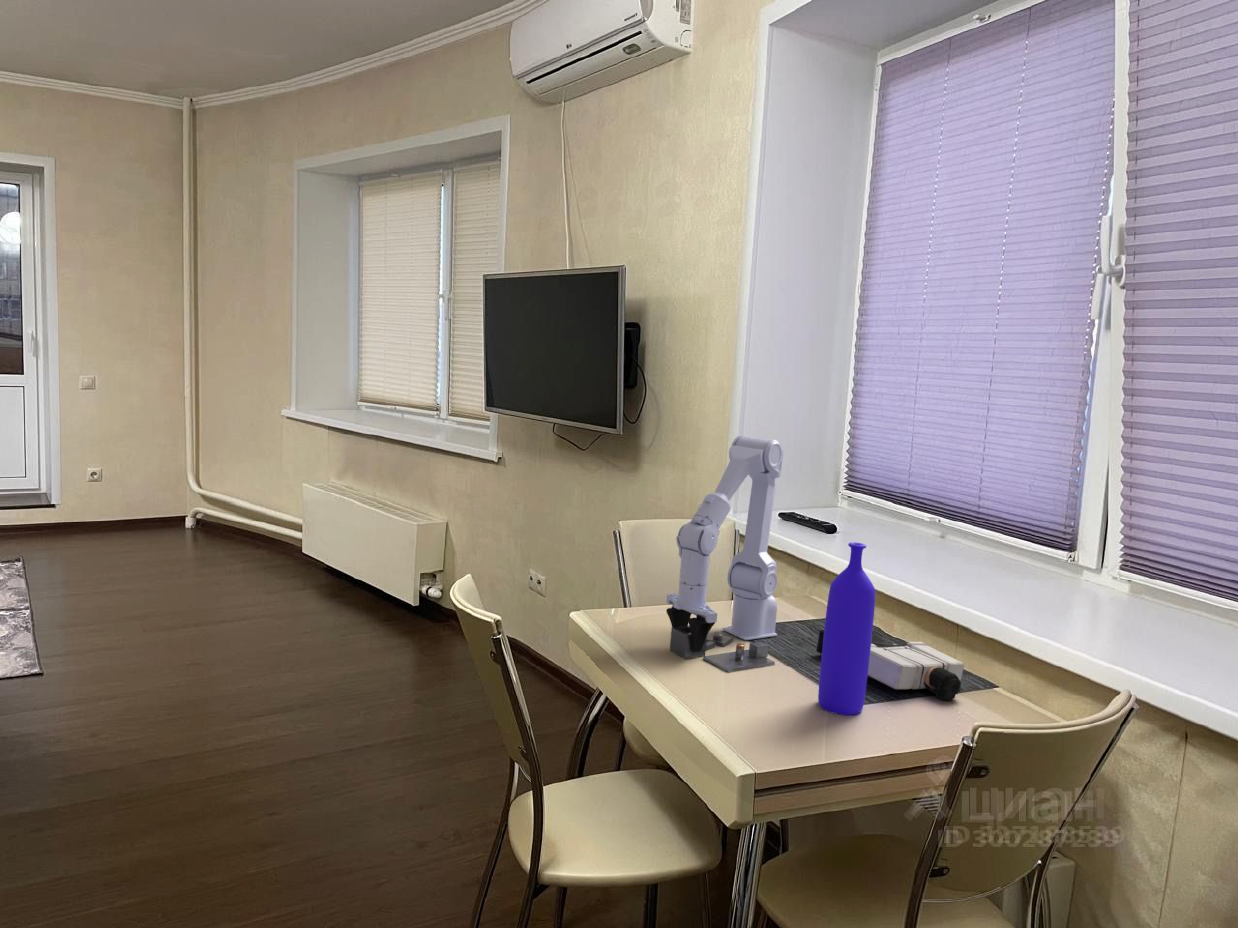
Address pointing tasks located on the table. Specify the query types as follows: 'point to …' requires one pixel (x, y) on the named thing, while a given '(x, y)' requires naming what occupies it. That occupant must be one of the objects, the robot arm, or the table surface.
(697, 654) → the gray hollow cube
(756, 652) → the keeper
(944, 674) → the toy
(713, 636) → the gray t-shaped latch
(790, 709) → the table surface
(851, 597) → the bottle
